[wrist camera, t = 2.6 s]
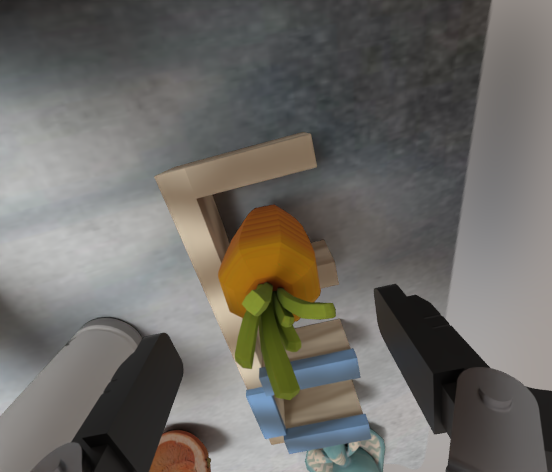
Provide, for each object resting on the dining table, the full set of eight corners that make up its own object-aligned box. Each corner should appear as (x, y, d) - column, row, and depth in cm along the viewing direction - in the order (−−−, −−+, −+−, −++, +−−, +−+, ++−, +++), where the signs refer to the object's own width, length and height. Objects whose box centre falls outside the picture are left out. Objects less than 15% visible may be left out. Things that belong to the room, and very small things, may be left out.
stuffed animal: (370, 447, 26) (425, 524, 28) (355, 389, 33) (399, 453, 35) (280, 483, 28) (337, 552, 30) (284, 421, 35) (330, 480, 37)
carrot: (243, 178, 20) (194, 291, 7) (305, 190, 21) (377, 316, 7) (235, 236, 22) (183, 415, 9) (292, 245, 23) (328, 429, 9)
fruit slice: (210, 416, 32) (201, 465, 27) (222, 448, 34) (215, 498, 30) (143, 424, 32) (122, 474, 27) (160, 456, 35) (144, 506, 30)
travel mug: (67, 318, 25) (-471, 839, 7) (136, 314, 25) (-214, 819, 7) (88, 365, 28) (-265, 839, 9) (150, 361, 28) (-78, 826, 9)
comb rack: (173, 167, 20) (145, 179, 15) (305, 131, 19) (316, 133, 15) (270, 408, 31) (271, 457, 27) (355, 391, 31) (371, 438, 26)
